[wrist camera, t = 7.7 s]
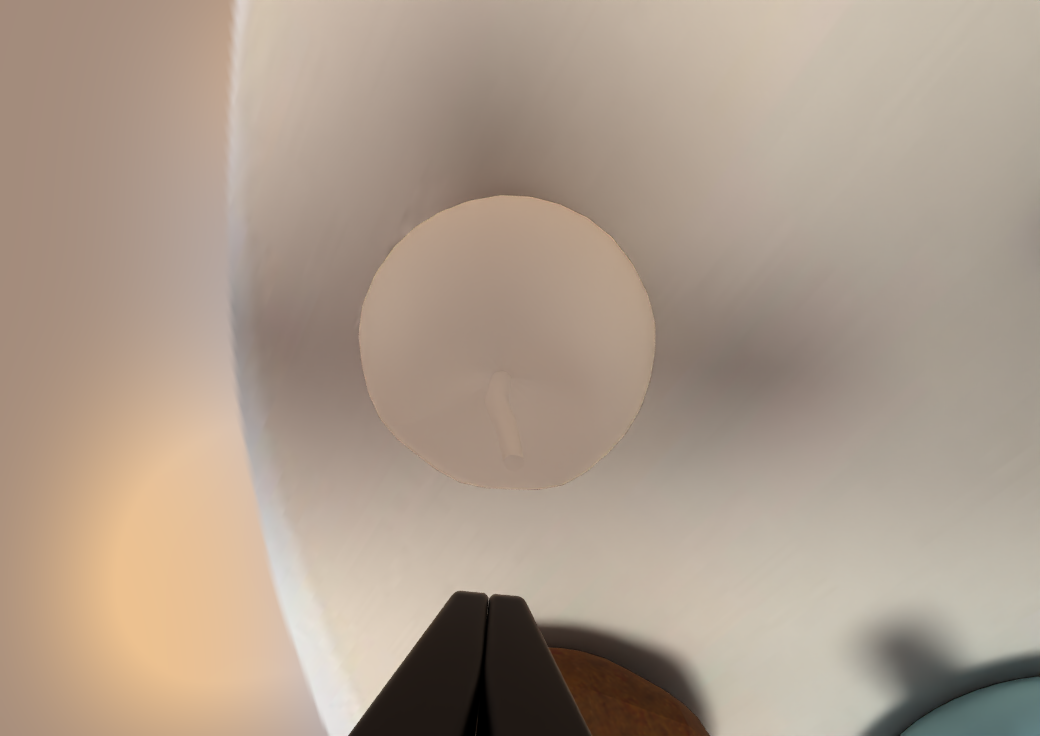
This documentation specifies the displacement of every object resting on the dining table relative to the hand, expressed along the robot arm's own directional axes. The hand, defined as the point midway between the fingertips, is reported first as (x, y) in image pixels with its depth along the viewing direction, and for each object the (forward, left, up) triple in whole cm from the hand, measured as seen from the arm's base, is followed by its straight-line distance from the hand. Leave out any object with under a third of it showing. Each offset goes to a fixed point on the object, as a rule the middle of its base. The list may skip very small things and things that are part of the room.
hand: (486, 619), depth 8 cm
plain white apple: (0, 0, -13) cm, 13 cm away
